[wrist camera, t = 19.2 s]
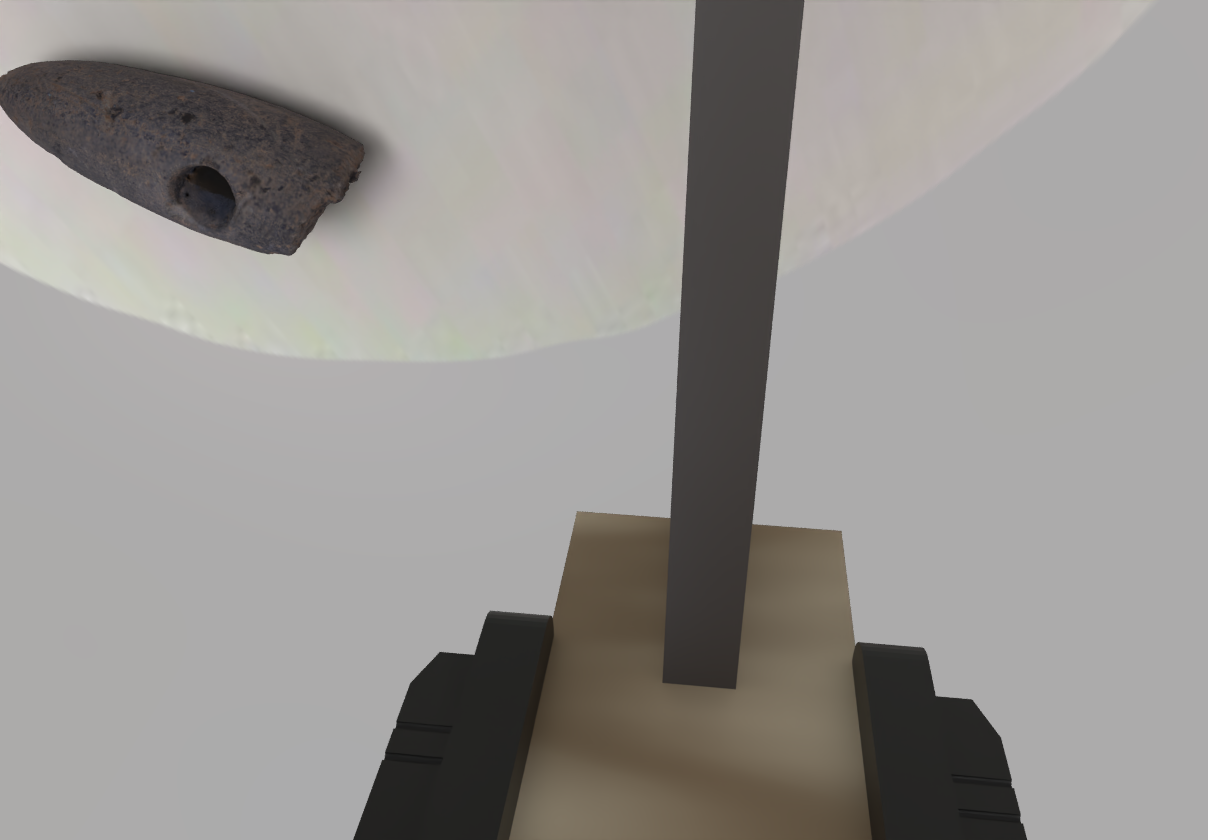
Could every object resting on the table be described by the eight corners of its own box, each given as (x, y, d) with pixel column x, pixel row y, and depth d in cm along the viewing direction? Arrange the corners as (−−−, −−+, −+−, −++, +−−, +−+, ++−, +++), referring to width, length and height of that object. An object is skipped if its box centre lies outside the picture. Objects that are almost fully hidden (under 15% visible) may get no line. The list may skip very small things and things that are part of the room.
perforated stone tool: (42, 115, 47) (-59, 165, 42) (48, -3, 45) (-59, 33, 39) (367, 234, 49) (314, 299, 43) (392, 126, 46) (339, 179, 40)
